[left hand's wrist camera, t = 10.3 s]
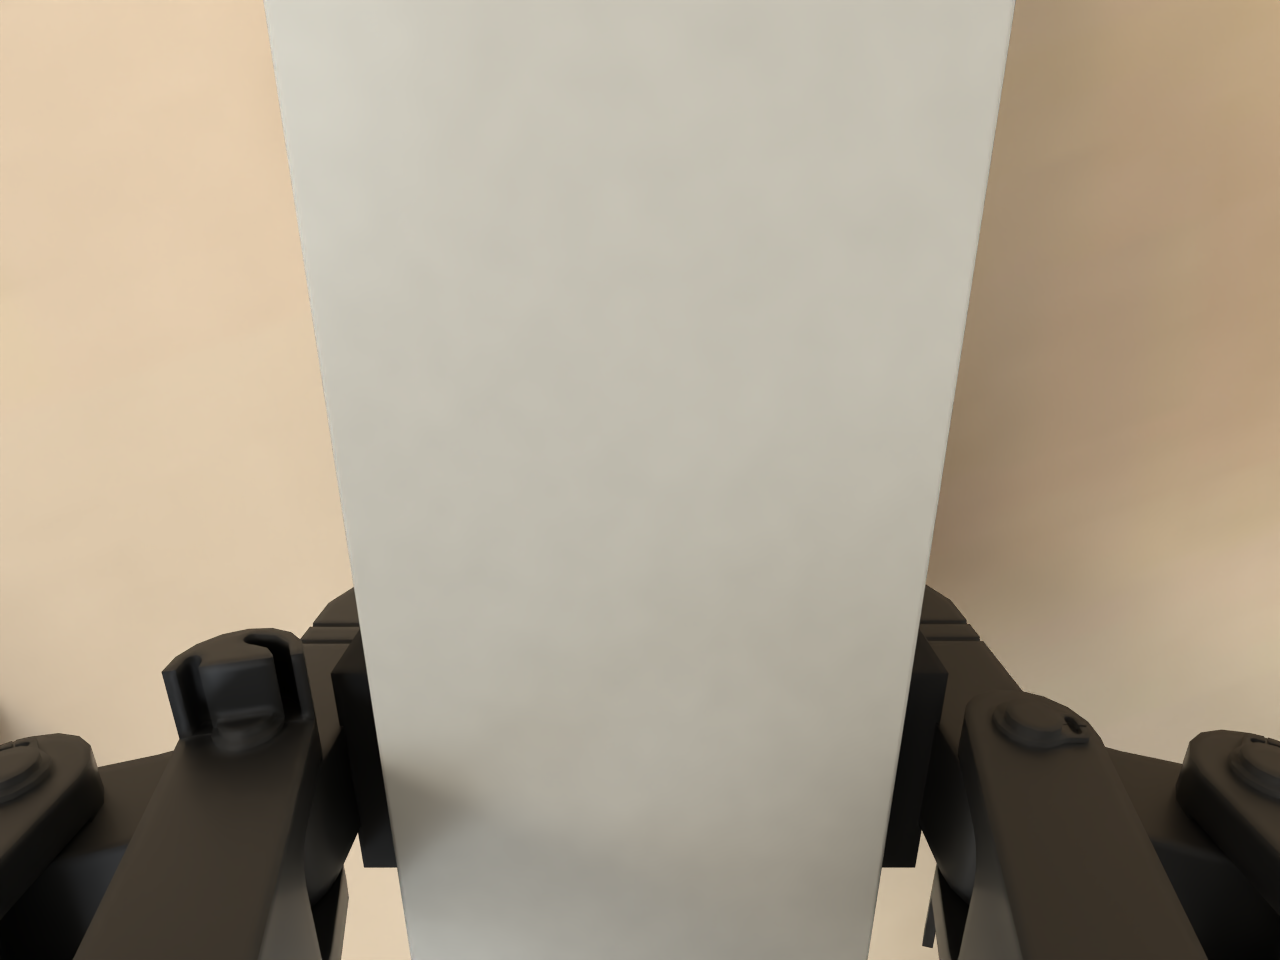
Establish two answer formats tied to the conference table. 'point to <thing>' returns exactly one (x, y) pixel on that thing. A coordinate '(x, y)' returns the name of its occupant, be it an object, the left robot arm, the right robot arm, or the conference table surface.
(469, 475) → the beam
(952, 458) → the conference table surface
